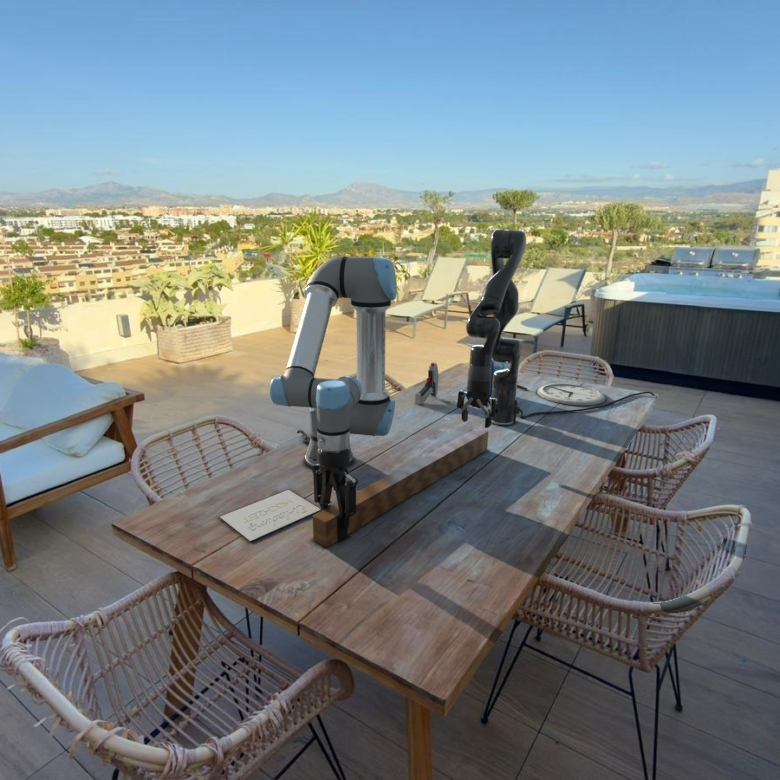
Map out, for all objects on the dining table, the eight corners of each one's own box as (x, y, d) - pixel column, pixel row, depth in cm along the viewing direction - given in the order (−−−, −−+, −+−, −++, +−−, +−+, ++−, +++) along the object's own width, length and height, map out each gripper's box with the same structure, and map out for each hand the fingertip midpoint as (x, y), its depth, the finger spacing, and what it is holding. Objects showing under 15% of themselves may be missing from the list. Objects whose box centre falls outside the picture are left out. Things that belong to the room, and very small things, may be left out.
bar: (475, 446, 183) (477, 427, 181) (487, 449, 180) (488, 431, 178) (313, 540, 127) (312, 515, 125) (326, 547, 124) (325, 522, 122)
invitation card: (288, 489, 150) (320, 509, 140) (288, 490, 150) (320, 510, 140) (219, 516, 136) (250, 540, 125) (219, 517, 136) (250, 541, 126)
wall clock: (618, 401, 228) (551, 402, 225) (618, 405, 228) (551, 406, 226) (588, 382, 256) (528, 382, 254) (587, 385, 257) (528, 385, 254)
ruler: (503, 382, 259) (503, 380, 259) (504, 382, 259) (504, 380, 259) (526, 390, 247) (526, 388, 247) (527, 390, 247) (527, 388, 247)
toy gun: (414, 370, 220) (434, 361, 231) (415, 405, 226) (434, 395, 237) (419, 371, 219) (438, 362, 230) (419, 406, 225) (438, 396, 236)
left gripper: (296, 441, 125) (299, 527, 132) (349, 463, 114) (350, 555, 121) (319, 433, 130) (321, 515, 137) (372, 452, 120) (371, 541, 127)
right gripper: (454, 375, 171) (451, 422, 176) (493, 383, 163) (489, 432, 167) (466, 371, 177) (463, 416, 181) (504, 379, 168) (500, 426, 173)
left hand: (335, 534), depth 129 cm, fingers closed on bar, 4 cm apart
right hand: (476, 424), depth 174 cm, fingers open, 8 cm apart
